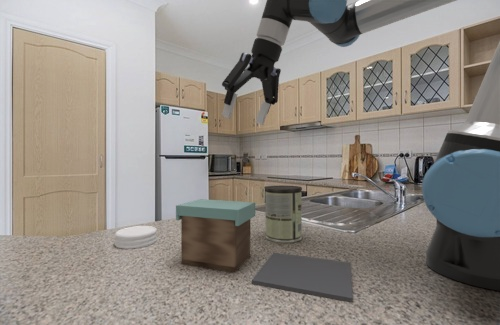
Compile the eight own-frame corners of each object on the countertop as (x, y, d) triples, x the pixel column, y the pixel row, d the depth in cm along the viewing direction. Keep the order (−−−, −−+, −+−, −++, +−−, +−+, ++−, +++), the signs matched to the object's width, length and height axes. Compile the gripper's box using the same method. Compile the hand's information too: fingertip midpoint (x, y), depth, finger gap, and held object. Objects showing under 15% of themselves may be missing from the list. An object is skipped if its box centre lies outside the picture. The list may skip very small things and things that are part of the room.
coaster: (136, 236, 70) (136, 224, 70) (164, 239, 67) (164, 226, 67) (105, 247, 61) (105, 233, 61) (136, 252, 58) (136, 237, 58)
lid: (255, 215, 54) (255, 202, 54) (238, 226, 45) (238, 209, 45) (201, 211, 59) (201, 199, 59) (175, 220, 50) (175, 205, 50)
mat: (350, 265, 49) (350, 262, 49) (352, 302, 36) (352, 298, 36) (273, 255, 55) (273, 252, 55) (251, 283, 42) (251, 280, 42)
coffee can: (265, 231, 74) (265, 185, 74) (300, 232, 73) (299, 185, 73) (264, 242, 64) (264, 188, 64) (304, 243, 63) (304, 189, 63)
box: (250, 256, 54) (250, 211, 54) (234, 272, 46) (234, 219, 46) (203, 249, 58) (203, 208, 58) (181, 263, 50) (181, 215, 50)
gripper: (285, 55, 74) (262, 121, 80) (224, 20, 56) (200, 109, 62) (305, 59, 70) (279, 129, 76) (245, 22, 51) (217, 118, 57)
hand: (243, 120), depth 69 cm, fingers open, 13 cm apart
